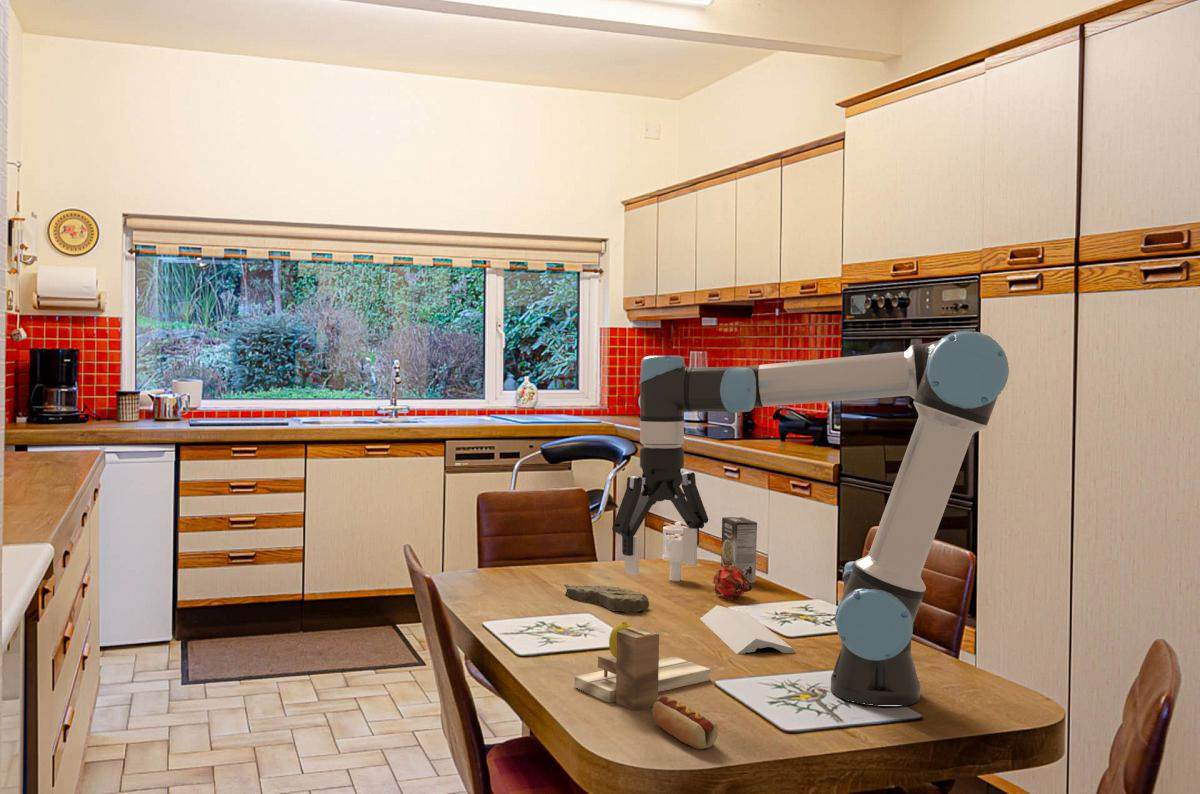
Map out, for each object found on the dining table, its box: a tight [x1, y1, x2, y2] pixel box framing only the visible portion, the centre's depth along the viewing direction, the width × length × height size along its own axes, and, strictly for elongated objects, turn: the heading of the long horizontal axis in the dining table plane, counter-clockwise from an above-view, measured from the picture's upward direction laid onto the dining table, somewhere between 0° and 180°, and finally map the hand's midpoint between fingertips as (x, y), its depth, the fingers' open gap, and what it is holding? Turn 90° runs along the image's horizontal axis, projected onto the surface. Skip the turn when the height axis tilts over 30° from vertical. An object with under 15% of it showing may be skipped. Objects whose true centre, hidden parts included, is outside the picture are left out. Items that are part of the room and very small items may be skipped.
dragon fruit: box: [712, 565, 753, 601], centre depth 259 cm, size 8×8×12 cm
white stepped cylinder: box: [662, 521, 685, 582], centre depth 278 cm, size 7×7×15 cm
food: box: [652, 696, 719, 750], centre depth 161 cm, size 14×6×5 cm, turn 28°
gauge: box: [597, 626, 660, 711], centre depth 179 cm, size 12×5×12 cm, turn 37°
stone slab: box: [563, 583, 650, 614], centre depth 252 cm, size 27×12×5 cm, turn 42°
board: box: [574, 656, 712, 704], centre depth 187 cm, size 10×23×2 cm, turn 127°
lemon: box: [608, 620, 635, 658], centre depth 200 cm, size 6×6×8 cm
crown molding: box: [699, 605, 796, 655], centre depth 223 cm, size 29×12×4 cm, turn 10°
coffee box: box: [720, 516, 758, 584], centre depth 280 cm, size 9×6×16 cm
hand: (661, 569), depth 181 cm, fingers open, 13 cm apart
